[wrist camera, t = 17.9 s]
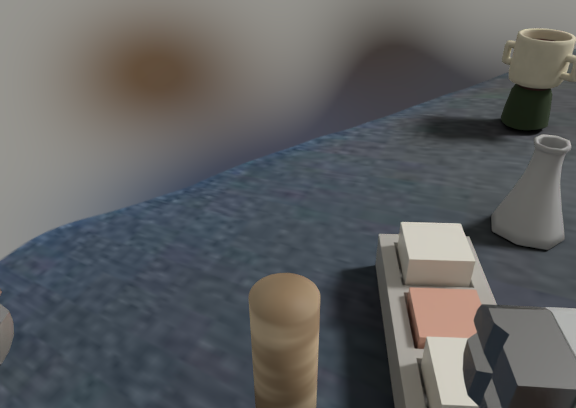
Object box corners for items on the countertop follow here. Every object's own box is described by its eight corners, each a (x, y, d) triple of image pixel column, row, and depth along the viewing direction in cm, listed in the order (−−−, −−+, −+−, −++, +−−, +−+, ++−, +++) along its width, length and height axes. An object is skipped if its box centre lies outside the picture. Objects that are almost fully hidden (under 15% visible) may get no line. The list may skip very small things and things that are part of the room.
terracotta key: (414, 365, 36) (419, 337, 35) (404, 314, 40) (409, 287, 39) (486, 367, 36) (494, 340, 34) (469, 316, 40) (476, 289, 39)
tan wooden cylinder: (255, 472, 31) (244, 320, 24) (261, 420, 34) (253, 271, 27) (314, 475, 31) (320, 324, 24) (314, 422, 34) (320, 274, 27)
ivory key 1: (405, 286, 41) (409, 259, 39) (397, 248, 45) (400, 222, 43) (468, 288, 40) (475, 261, 39) (455, 249, 45) (460, 223, 43)
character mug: (572, 132, 72) (602, 39, 65) (544, 146, 69) (573, 48, 62) (503, 108, 80) (524, 22, 73) (475, 120, 76) (494, 30, 69)
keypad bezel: (405, 488, 31) (413, 453, 29) (375, 264, 48) (378, 233, 46) (542, 495, 30) (559, 461, 28) (461, 267, 48) (469, 236, 46)
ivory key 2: (434, 434, 30) (441, 404, 28) (420, 365, 34) (426, 336, 33) (521, 438, 30) (533, 408, 28) (496, 368, 34) (506, 339, 32)
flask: (479, 234, 52) (501, 145, 47) (500, 202, 57) (522, 119, 52) (555, 260, 48) (588, 168, 43) (571, 224, 53) (602, 137, 48)
